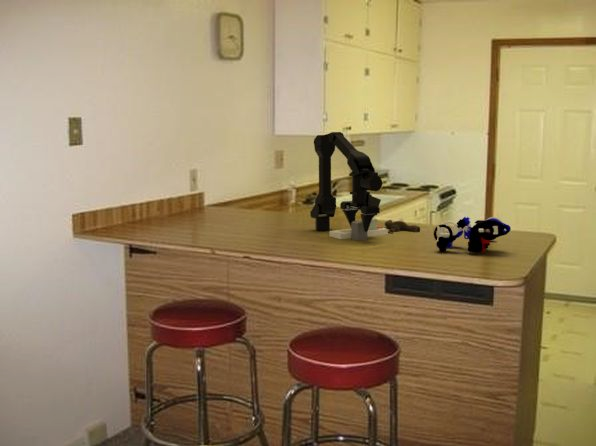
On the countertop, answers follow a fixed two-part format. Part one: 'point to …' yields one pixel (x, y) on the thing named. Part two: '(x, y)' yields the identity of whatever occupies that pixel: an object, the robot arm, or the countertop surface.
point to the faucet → (400, 227)
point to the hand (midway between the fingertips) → (359, 229)
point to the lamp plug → (373, 224)
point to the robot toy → (471, 233)
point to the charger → (358, 231)
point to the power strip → (347, 233)
